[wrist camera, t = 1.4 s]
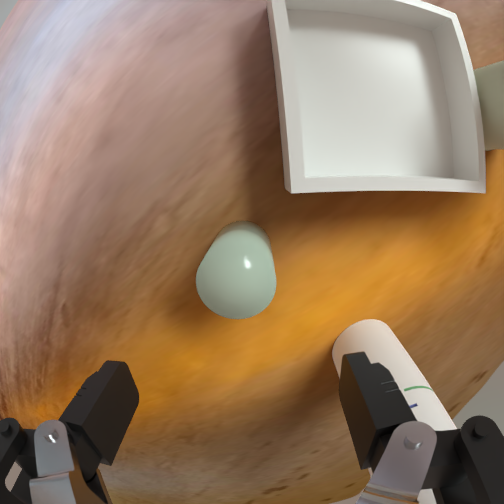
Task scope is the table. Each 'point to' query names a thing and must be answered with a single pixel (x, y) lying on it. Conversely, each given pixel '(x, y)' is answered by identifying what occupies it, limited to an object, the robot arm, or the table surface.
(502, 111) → the can
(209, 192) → the table surface
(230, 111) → the table surface
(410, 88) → the grey tub
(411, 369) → the cylindrical container
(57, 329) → the table surface
